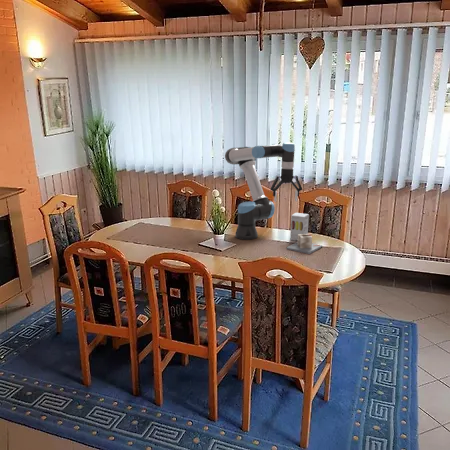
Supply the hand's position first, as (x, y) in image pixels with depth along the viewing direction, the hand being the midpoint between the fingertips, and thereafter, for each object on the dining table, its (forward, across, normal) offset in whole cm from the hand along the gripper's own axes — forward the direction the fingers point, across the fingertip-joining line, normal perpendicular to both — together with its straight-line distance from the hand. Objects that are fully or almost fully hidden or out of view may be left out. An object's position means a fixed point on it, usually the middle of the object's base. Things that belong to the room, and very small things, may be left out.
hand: (285, 201), depth 294 cm
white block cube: (+26, +10, -14) cm, 31 cm away
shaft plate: (+27, +10, -14) cm, 32 cm away
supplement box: (+28, +12, +6) cm, 31 cm away
